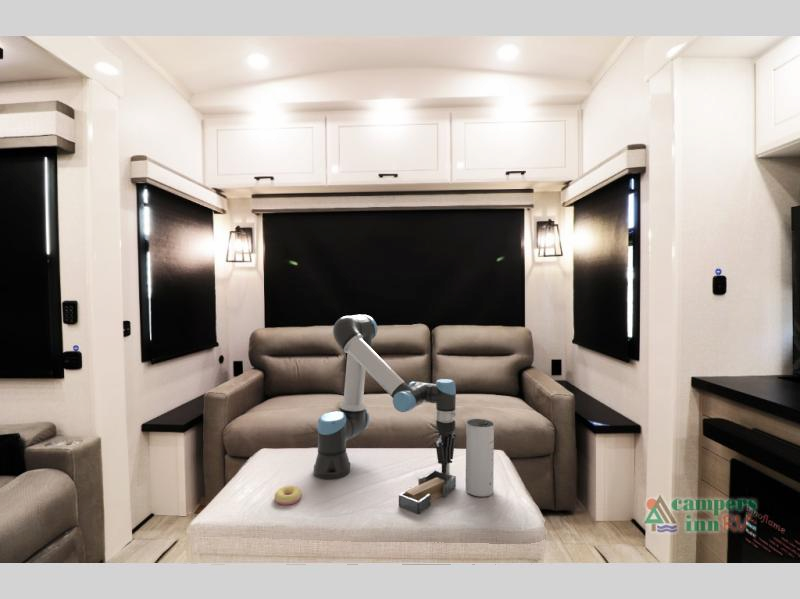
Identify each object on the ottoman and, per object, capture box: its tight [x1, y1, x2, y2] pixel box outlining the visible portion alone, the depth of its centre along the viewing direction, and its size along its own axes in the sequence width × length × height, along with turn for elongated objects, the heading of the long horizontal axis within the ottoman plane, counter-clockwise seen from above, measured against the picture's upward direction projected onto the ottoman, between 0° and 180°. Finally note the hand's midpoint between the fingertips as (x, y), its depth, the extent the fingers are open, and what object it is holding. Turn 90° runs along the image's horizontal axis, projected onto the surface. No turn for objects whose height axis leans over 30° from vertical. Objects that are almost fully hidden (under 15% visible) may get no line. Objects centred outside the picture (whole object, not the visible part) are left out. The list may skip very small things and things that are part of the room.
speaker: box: [465, 418, 495, 498], centre depth 153 cm, size 11×10×26 cm
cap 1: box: [398, 487, 431, 515], centre depth 142 cm, size 9×7×4 cm
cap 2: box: [417, 469, 457, 499], centre depth 155 cm, size 12×10×4 cm
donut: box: [274, 485, 303, 506], centre depth 147 cm, size 10×5×9 cm
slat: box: [404, 477, 445, 502], centre depth 147 cm, size 4×16×5 cm, turn 131°
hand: (445, 479), depth 159 cm, fingers closed
